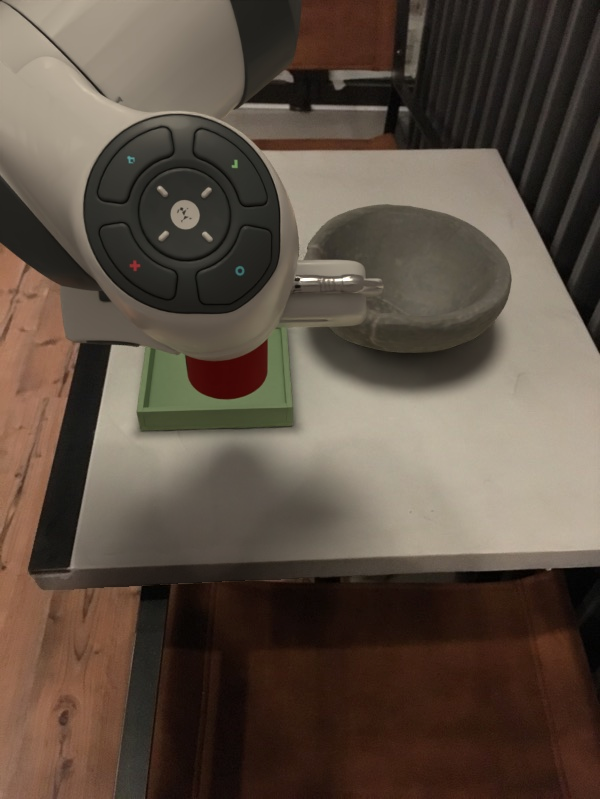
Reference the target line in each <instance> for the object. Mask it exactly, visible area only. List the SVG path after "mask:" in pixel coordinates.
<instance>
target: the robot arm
mask: <svg viewBox="0 0 600 799" xmlns="http://www.w3.org/2000/svg"><path fill="white" fill-rule="evenodd" d="M302 4H303V0H0V244H1V245H2V246H4V247H5V248H6V249H7V250H9V251H10V252H11V253H12V254H13V255H14V256H16V257H17V258H18V259H20V260H21V261H23V262H24V263H25V264H26V265H28V266H29V267H31V268H32V269H33V270H34V271H36V272H37V273H39V274H41V275H42V276H43V277H45V278H47V279H48V280H50V281H52V282H53V283H55V284H57V285H59V297H60V298H59V300H60V309H61V311H60V312H61V317H62V318H61V319H62V325H63V331H64V336H65V337H64V338H65V339H66V340H67V341H69V342H73V343H75V344H76V343H77V344H89V345H101V346H103V345H104V346H105V345H108V346H126V347H133V348H139V347H149V348H153V349H157V350H161V351H164V352H167V353H170V354H172V355H179V354H180V353H182V354H184V355H187V356H189V357H192V358H196V359H199V360H206V361H223V360H230V359H234V358H237V357H240V356H243V355H245V354H247V353H249V352H251V351H252V350H254V349H256V348H257V347H258V346H260V345H261V344H262V343H263V342H264V341H265V340H266V339H268V337H269V336H270V335H271V334H272V333H273V331H274V330H275V328H283V327H287V328H330V327H340V326H354V325H358V324H361V323H362V322H363V321H364V320H365V318H366V298H372V297H376V296H378V295H380V294H381V293H382V292H383V290H382V289H383V288H384V284H383V283H382V280H381V279H366V275H365V268H364V266H363V265H362V264H361V263H358V262H355V261H349V260H304V259H299V258H300V237H299V230H298V229H299V228H298V224H297V219H296V214H295V210H294V208H293V205H292V202H291V199H290V196H289V194H288V191H287V190H286V187H285V185H284V183H283V181H282V179H281V178H280V175H279V174H278V173H277V170H276V169H275V167H274V166H273V165H272V163H271V161H270V159H269V158H268V157H267V156H266V155H265V153H264V152H263V151H262V149H260V148H259V147H258V146H257V145H256V143H255V142H254V141H253V140H252V139H250V138H249V136H247V135H246V134H245V133H243V132H241V131H240V130H239V129H238V128H236V127H235V126H233V125H231V124H229V123H228V122H225V121H223V120H224V119H225V118H226V117H227V116H228V115H229V114H230V113H231V112H232V111H235V110H237V109H240V108H241V107H242V106H243V105H244V104H246V103H247V102H248V101H249V100H250V99H252V98H253V97H254V96H255V95H257V94H258V93H259V92H260V91H261V90H263V89H264V88H265V87H266V86H267V85H269V84H270V83H271V82H272V81H273V80H274V79H276V78H277V77H279V75H281V74H282V73H283V72H284V71H285V70H286V69H288V68H289V67H290V66H291V64H292V63H293V61H294V59H295V56H296V52H297V46H298V40H299V36H300V35H299V34H300V27H301V20H302V19H301V18H302Z"/></svg>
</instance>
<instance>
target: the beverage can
mask: <svg viewBox="0 0 600 799" xmlns="http://www.w3.org/2000/svg"><path fill="white" fill-rule="evenodd" d="M185 360H186V368H187V375H188V379H189V381H190V383H191V385H192V386H193V387H194V388H195V389H196V390H197V391H198V392H200V393H201V394H203V395H206V396H208V397H211V398H215V399H224V400H228V399H237V398H241V397H244V396H247V395H249V394H251V393H253V392H254V391H256V390H257V389H258V388H259V387H260V386H261V385H262V384H263V383H264V381H265V379H266V377H267V372H268V339H266V340H265V341H264V342H263V343H262V344H261V345H260V346H258V347H257V348H256V349H254V350H252V351H251V352H249V353H247V354H245V355H243V356H240V357H237V358H234V359H230V360H223V361H206V360H199V359H196V358H192V357H189V356H187V355H185Z"/></svg>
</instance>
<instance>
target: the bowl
mask: <svg viewBox="0 0 600 799" xmlns="http://www.w3.org/2000/svg"><path fill="white" fill-rule="evenodd" d="M303 260H349V261H355V262H358V263H361V264H362V265H363V266H364V268H365V275H366V279H381V280H382V283H383V284H384V288H383V289H382V290H383V292H382V293H381V294H380V295H378V296H376V297H372V298H366V318H365V320H364V321H363V322H362V323H361V324H358V325H354V326H340V327H329V329H330V330H331V331H332V332H333V333H334V334H335V335H337V336H338V337H339V338H340V339H342V340H344V341H347V342H349V343H352V344H355V345H358V346H362V347H364V348H368V349H373V350H379V351H383V352H390V353H400V354H407V353H408V354H409V353H411V354H413V353H414V354H417V353H418V354H420V353H421V354H423V353H433V352H440V351H444V350H447V349H452V348H454V347H457V346H460V345H463V344H465V343H468V342H470V341H473V340H474V339H475V338H477V337H479V336H480V335H482V334H483V333H484V332H486V330H488V329H489V328H490V327H491V326H492V325H493V324H494V322H495V321H496V320H497V319H498V317H500V315H501V313H502V312H503V310H504V308H505V307H506V305H507V302H508V300H509V297H510V293H511V287H512V280H513V278H512V271H511V266H510V265H511V264H510V263H509V260H508V258H507V257H506V255H505V253H504V252H503V251H502V250H501V249H500V247H499V246H498V244H497V243H495V242H494V241H493V240H492V239H491V238H490V237H489V236H487V235H486V233H484V232H482V230H480V229H479V228H477V227H476V226H474V225H472V224H471V223H469V222H468V221H466V220H463V219H461V218H459V217H456V216H454V215H451V214H449V213H446V212H442V211H437V210H432V209H428V208H423V207H418V206H412V205H400V204H388V203H385V204H372V205H367V206H362V207H357V208H354V209H351V210H348V211H345V212H342V213H339V214H337V215H335V216H333V217H332V218H329V219H328V220H327V221H326V222H325V223H324V224H323V225H321V226H320V228H318V230H317V231H316V232H315V233H314V235H313V236H312V237H311V239H310V240H309V242H308V244H307V247H306V252H305V255H304V257H303Z"/></svg>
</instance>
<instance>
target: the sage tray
mask: <svg viewBox="0 0 600 799" xmlns="http://www.w3.org/2000/svg"><path fill="white" fill-rule="evenodd" d="M290 367H291V366H290V354H289V342H288V327H283V328H275V330H274V331H273V333H272V334H271V335H270V336H269V337H268V372H267V377H266V379H265V381H264V383H263V384H262V385H261V386H260V387H259V388H258V389H257V390H256V391H254V392H253V393H251V394H249V395H247V396H244V397H241V398H237V399H228V400H224V399H215V398H211V397H208V396H206V395H203V394H201V393H200V392H198V391H197V390H196V389H195V388H194V387H193V386H192V385H191V383H190V381H189V379H188V375H187V368H186V360H185V355H184V354H182V353H180V354H179V355H172V354H170V353H167V352H164V351H161V350H157V349H153V348H149V347H145V348H144V355H143V363H142V371H141V376H140V383H139V392H138V399H137V406H136V416H137V420H138V425H139V430H140V431H141V432H144V431H145V432H148V431H149V432H150V431H176V430H177V431H178V430H180V431H181V430H208V429H210V430H211V429H213V430H214V429H238V428H239V429H240V428H245V429H246V428H271V427H272V428H274V427H275V428H276V427H293V421H294V420H293V419H294V418H293V417H294V416H293V415H294V404H293V392H292V378H291V368H290Z"/></svg>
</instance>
